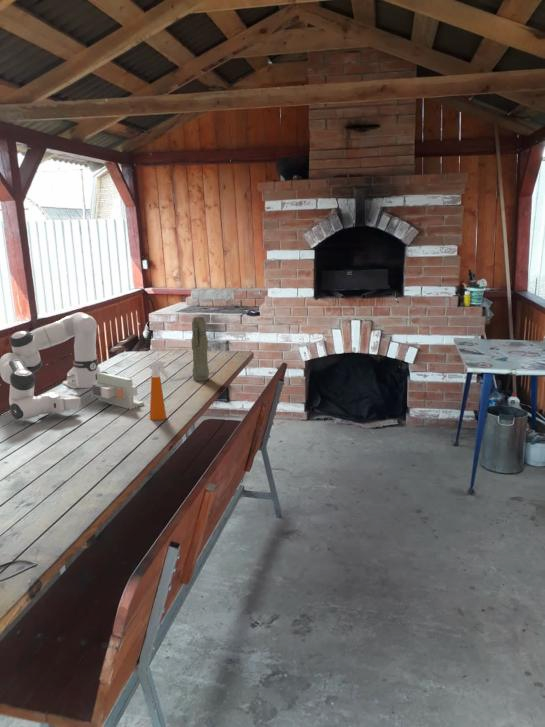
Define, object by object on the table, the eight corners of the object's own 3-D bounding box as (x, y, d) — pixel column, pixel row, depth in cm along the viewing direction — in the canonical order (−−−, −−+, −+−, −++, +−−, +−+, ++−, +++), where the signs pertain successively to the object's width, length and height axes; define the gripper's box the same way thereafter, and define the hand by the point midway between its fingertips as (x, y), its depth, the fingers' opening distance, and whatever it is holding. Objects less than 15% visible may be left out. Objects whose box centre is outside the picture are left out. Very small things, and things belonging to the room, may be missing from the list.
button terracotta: (116, 398, 258) (115, 388, 257) (131, 393, 264) (130, 384, 263) (122, 399, 255) (121, 390, 254) (137, 395, 262) (136, 385, 261)
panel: (98, 400, 270) (96, 372, 267) (112, 396, 276) (110, 369, 273) (130, 409, 256) (128, 380, 253) (144, 405, 262) (142, 376, 259)
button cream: (102, 396, 260) (101, 387, 259) (117, 392, 266) (116, 383, 265) (108, 398, 257) (107, 388, 256) (123, 394, 264) (122, 384, 263)
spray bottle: (164, 423, 237) (161, 363, 231) (146, 418, 242) (142, 360, 236) (176, 418, 242) (173, 359, 237) (157, 414, 248) (154, 357, 242)
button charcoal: (92, 394, 264) (92, 385, 263) (108, 390, 271) (107, 381, 270) (98, 396, 261) (98, 386, 260) (114, 391, 268) (113, 382, 267)
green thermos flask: (191, 382, 303) (188, 318, 296) (195, 376, 315) (192, 315, 307) (207, 382, 303) (204, 318, 295) (210, 376, 315) (208, 315, 307)
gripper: (37, 405, 250) (64, 398, 261) (63, 413, 238) (91, 405, 249) (35, 392, 249) (63, 385, 259) (62, 399, 237) (89, 392, 247)
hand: (77, 395), depth 254 cm, fingers closed
